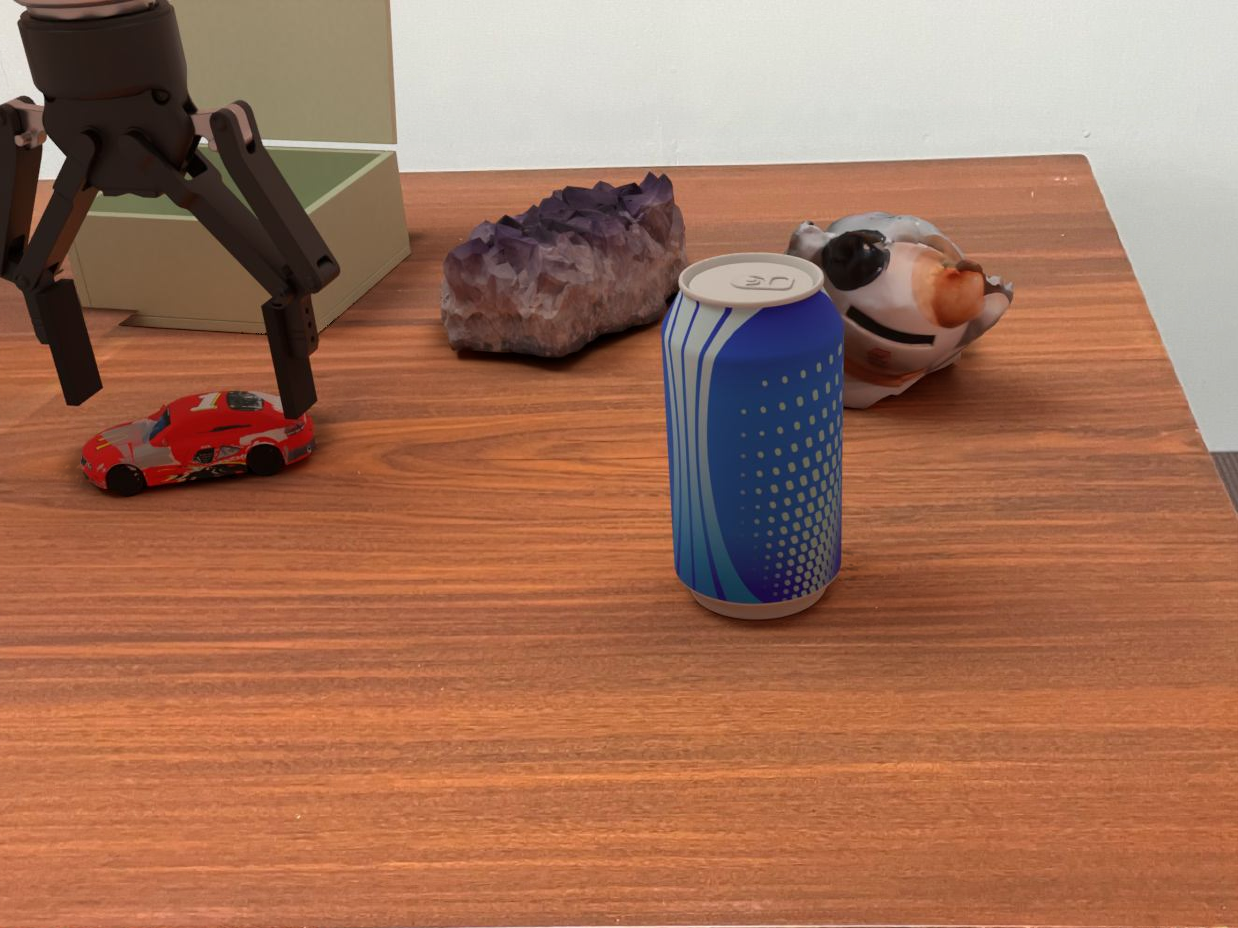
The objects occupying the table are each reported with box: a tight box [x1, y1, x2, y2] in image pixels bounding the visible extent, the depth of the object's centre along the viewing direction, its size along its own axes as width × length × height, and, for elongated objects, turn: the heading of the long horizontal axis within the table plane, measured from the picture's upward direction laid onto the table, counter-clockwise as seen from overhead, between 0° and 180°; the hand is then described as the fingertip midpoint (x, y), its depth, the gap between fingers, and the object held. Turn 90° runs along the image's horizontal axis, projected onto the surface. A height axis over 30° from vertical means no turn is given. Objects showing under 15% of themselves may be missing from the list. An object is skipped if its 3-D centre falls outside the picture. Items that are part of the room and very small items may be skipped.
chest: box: [67, 142, 412, 335], centre depth 117 cm, size 18×18×8 cm
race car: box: [79, 390, 317, 497], centre depth 93 cm, size 13×5×4 cm, turn 106°
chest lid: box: [167, 0, 398, 145], centre depth 118 cm, size 18×18×1 cm
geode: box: [439, 171, 691, 358], centre depth 110 cm, size 20×12×10 cm, turn 144°
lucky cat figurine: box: [783, 211, 1014, 410], centre depth 99 cm, size 15×12×14 cm
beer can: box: [660, 251, 844, 620], centre depth 77 cm, size 8×8×16 cm
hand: (192, 404), depth 92 cm, fingers open, 13 cm apart
